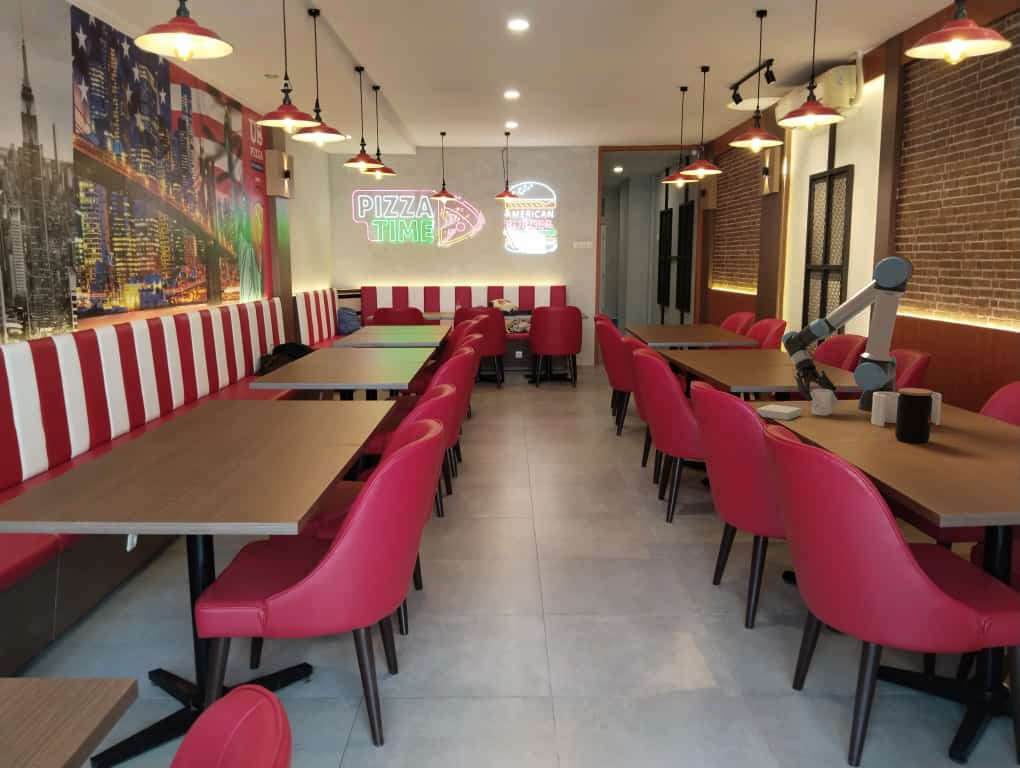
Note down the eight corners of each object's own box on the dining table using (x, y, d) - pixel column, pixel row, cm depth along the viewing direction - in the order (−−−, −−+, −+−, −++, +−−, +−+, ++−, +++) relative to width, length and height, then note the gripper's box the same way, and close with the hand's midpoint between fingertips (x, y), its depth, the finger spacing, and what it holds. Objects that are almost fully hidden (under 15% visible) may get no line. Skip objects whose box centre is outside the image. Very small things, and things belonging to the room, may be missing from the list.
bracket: (928, 420, 296) (930, 390, 294) (942, 426, 286) (945, 395, 284) (866, 421, 295) (868, 391, 293) (878, 427, 285) (880, 396, 284)
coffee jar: (933, 444, 258) (938, 393, 255) (901, 443, 259) (904, 392, 256) (922, 437, 268) (926, 388, 265) (890, 436, 270) (894, 387, 267)
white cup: (832, 416, 306) (834, 392, 304) (812, 415, 307) (814, 391, 306) (828, 412, 313) (830, 389, 312) (809, 411, 315) (810, 388, 313)
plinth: (800, 415, 308) (800, 408, 307) (787, 420, 298) (787, 413, 298) (770, 411, 317) (770, 404, 316) (756, 415, 307) (756, 408, 307)
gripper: (820, 367, 325) (843, 409, 313) (777, 369, 319) (799, 412, 307) (829, 356, 319) (853, 399, 307) (785, 359, 313) (808, 402, 301)
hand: (826, 406), depth 307 cm, fingers open, 9 cm apart
